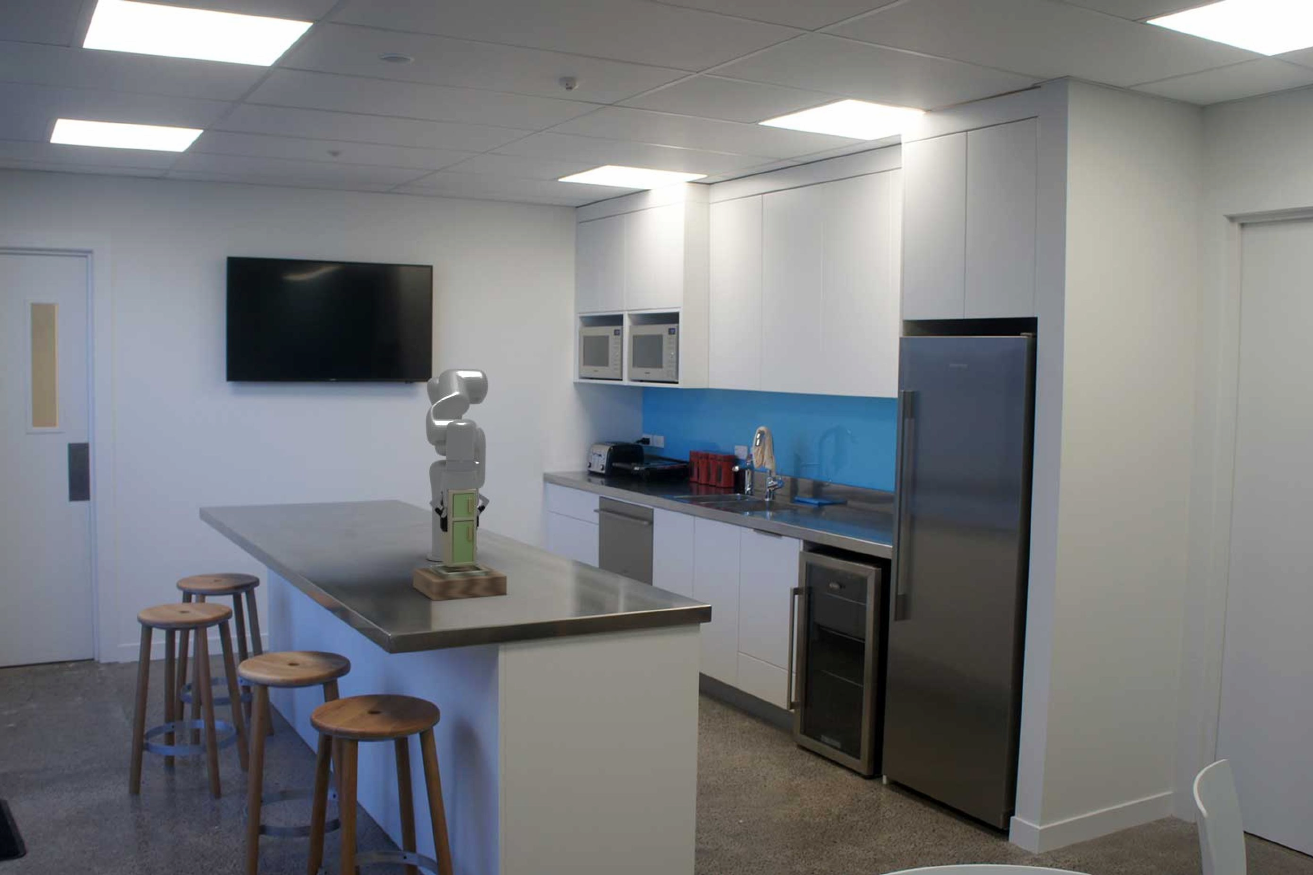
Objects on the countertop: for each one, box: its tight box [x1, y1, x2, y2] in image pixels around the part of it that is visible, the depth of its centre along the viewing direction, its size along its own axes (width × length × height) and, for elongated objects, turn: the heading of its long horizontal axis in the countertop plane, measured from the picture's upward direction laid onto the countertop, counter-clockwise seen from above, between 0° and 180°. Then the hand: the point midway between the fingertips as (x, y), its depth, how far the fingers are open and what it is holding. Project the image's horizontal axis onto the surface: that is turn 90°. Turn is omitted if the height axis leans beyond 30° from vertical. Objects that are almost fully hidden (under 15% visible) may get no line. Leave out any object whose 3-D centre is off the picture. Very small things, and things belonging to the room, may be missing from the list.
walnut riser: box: [412, 563, 508, 602], centre depth 306 cm, size 20×20×6 cm
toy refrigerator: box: [441, 489, 478, 567], centre depth 305 cm, size 8×7×21 cm
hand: (459, 530), depth 305 cm, fingers closed on toy refrigerator, 7 cm apart
